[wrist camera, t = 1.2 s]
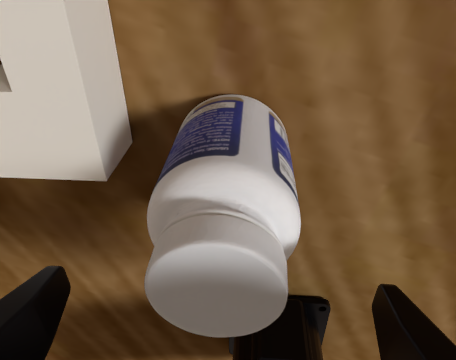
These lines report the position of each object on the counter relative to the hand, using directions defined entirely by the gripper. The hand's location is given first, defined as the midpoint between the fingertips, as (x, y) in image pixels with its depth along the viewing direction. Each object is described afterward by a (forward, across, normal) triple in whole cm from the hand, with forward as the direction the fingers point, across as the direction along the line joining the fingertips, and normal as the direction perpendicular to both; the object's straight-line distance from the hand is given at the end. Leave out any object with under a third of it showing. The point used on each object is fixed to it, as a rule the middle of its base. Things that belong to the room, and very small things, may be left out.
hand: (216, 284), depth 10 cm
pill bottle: (+9, 0, 0) cm, 9 cm away
